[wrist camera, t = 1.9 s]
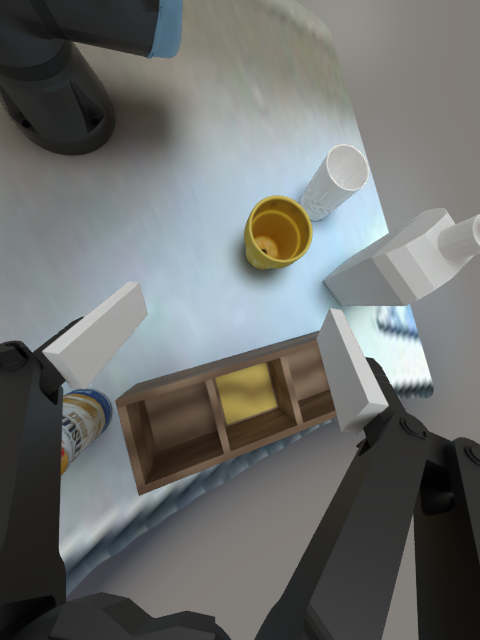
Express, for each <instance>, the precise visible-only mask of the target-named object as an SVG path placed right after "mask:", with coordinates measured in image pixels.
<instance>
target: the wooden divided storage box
mask: <svg viewBox="0 0 480 640" xmlns="http://www.w3.org/2000/svg"><path fill="white" fill-rule="evenodd" d="M319 332H320V331H317V332H313V333H310V334H307V335H303V336H300V337H296V338H293V339H289V340H286V341H283V342H279V343H276V344H272V345H269V346H265V347H262V348H258V349H255V350H252V351H248V352H245V353H241V354H238V355H234V356H231V357H228V358H224V359H221V360H217V361H214V362H210V363H207V364H204V365H200V366H197V367H193V368H190V369H186V370H183V371H179V372H176V373H173V374H169V375H166V376H162V377H159V378H155V379H152V380H149V381H145V382H142V383H138V384H136V385H134V386H133V387H132V388H130V389H129V390H128V391H127V392H125V393H124V394H123V395H122V396H120V397H119V398H118V399H117V400H115V402H116V406H117V410H118V414H119V418H120V422H121V426H122V430H123V434H124V438H125V442H126V446H127V450H128V454H129V458H130V462H131V466H132V470H133V474H134V478H135V482H136V486H137V490H138V494H139V496H140V495H142V494H145V493H147V492H150V491H152V490H155V489H157V488H160V487H162V486H165V485H167V484H170V483H172V482H175V481H177V480H180V479H182V478H185V477H187V476H190V475H192V474H195V473H197V472H200V471H202V470H205V469H207V468H210V467H212V466H215V465H217V464H220V463H222V462H225V461H227V460H230V459H232V458H235V457H237V456H240V455H242V454H245V453H247V452H250V451H252V450H255V449H257V448H260V447H262V446H265V445H267V444H270V443H272V442H275V441H277V440H280V439H282V438H285V437H287V436H290V435H292V434H295V433H297V432H300V431H302V430H305V429H307V428H310V427H312V426H315V425H317V424H320V423H322V422H325V421H327V420H330V419H332V418H335V417H337V413H336V410H335V406H334V402H333V398H332V395H331V391H330V387H329V383H328V380H327V376H326V372H325V368H324V364H323V361H322V357H321V353H320V349H319V346H318V342H317V336H318V334H319Z"/></svg>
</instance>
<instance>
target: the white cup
mask: <svg viewBox="0 0 480 640" xmlns="http://www.w3.org/2000/svg"><path fill="white" fill-rule="evenodd" d="M368 177H369V168H368V164H367V161H366V159H365V157H364V156H363V154H362V153H361V152H360V151H359V150H358V149H356V148H355V147H353V146H351V145H347V144H340V145H337V146H335V147H333V148H332V149H331V150H330V151H329V153H328V155H327V156H326V158H325V159H324V161H323V162H322V164H321V165H320V167H319V168H318V170H317V172H316V173H315V175H314V176H313V178H312V180H311V181H310V183H309V184H308V186H307V188H306V190H305V191H304V193H303V194H302V197H301V199H300V205H301V206H302V207H303V208H304V210H305V211H306V212H307V214H308V216H309V218H310V220H313V221H319V220H322V219H323V218H325V217H326V216H327V215H328V214H330V213H331V212H333V211H334V210H335V209H337V208H338V207H339V206H340V205H342V204H343V203H344V202H345V201H346V200H348V199H349V198H350V197H351V196H352V195H354V194H355V193H356V192H357V191H359V190H360V189H361V188H362V187H363V186H364V185H365V184H366V182H367V180H368Z"/></svg>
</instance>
